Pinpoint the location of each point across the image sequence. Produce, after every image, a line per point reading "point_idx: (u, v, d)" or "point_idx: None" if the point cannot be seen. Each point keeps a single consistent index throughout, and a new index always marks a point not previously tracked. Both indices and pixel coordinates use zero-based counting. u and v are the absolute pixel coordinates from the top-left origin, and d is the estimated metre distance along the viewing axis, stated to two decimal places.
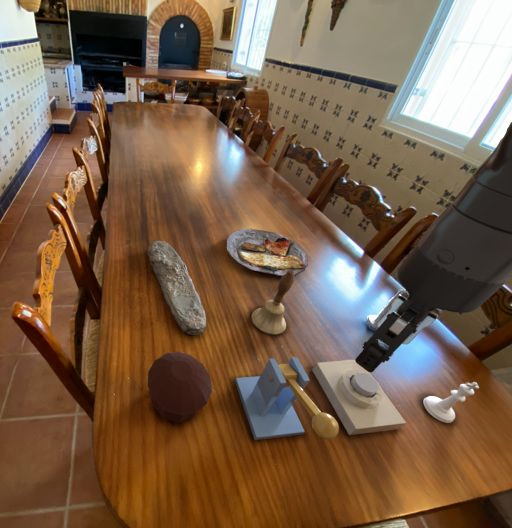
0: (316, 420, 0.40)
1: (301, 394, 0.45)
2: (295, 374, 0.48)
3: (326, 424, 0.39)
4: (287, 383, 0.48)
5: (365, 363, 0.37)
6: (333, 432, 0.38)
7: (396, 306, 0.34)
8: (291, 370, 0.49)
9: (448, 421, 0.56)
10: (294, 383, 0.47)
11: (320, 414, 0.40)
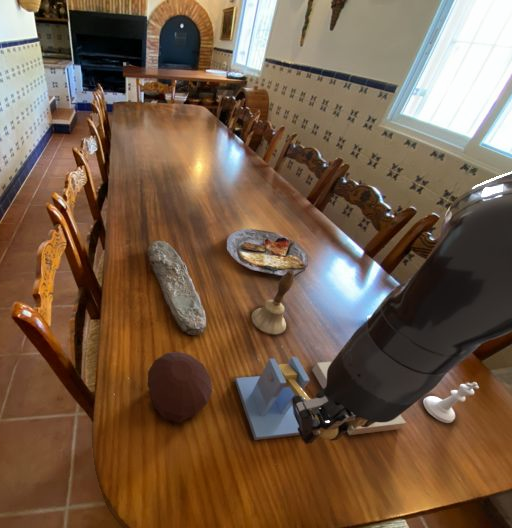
0: None
1: (301, 394, 0.45)
2: (295, 374, 0.48)
3: None
4: (287, 383, 0.48)
5: (302, 433, 0.41)
6: (333, 432, 0.38)
7: None
8: (291, 370, 0.49)
9: (448, 421, 0.56)
10: (294, 383, 0.47)
11: None
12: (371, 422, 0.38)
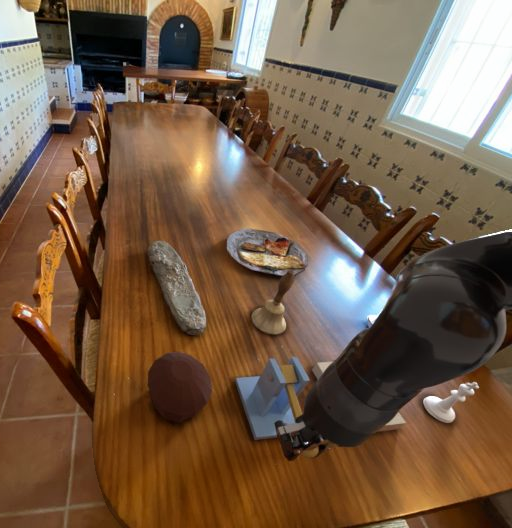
0: None
1: (295, 406, 0.46)
2: (295, 381, 0.48)
3: (308, 452, 0.43)
4: (284, 386, 0.49)
5: None
6: (312, 457, 0.43)
7: None
8: (293, 375, 0.48)
9: (448, 421, 0.56)
10: (291, 390, 0.48)
11: None
12: None
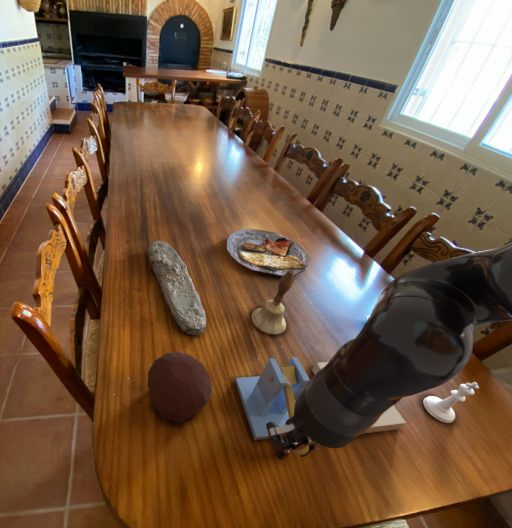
0: None
1: (291, 407, 0.47)
2: (295, 383, 0.48)
3: (299, 451, 0.45)
4: None
5: None
6: (301, 454, 0.45)
7: None
8: (293, 377, 0.48)
9: (448, 421, 0.56)
10: (289, 391, 0.48)
11: None
12: None
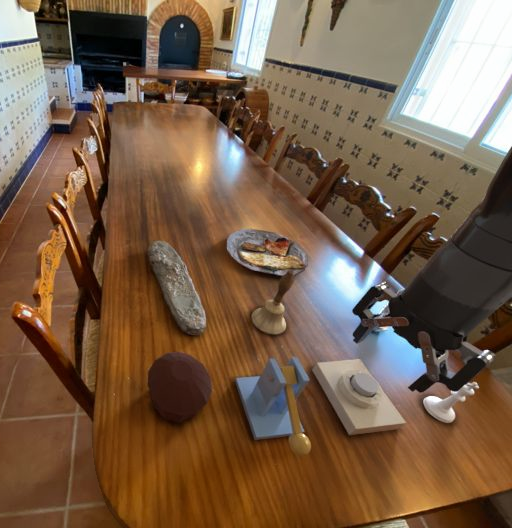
0: (294, 444, 0.45)
1: (292, 407, 0.47)
2: (295, 383, 0.48)
3: (301, 452, 0.44)
4: None
5: None
6: (303, 455, 0.45)
7: None
8: (293, 377, 0.48)
9: (448, 421, 0.56)
10: (290, 391, 0.48)
11: (300, 441, 0.45)
12: (456, 382, 0.35)
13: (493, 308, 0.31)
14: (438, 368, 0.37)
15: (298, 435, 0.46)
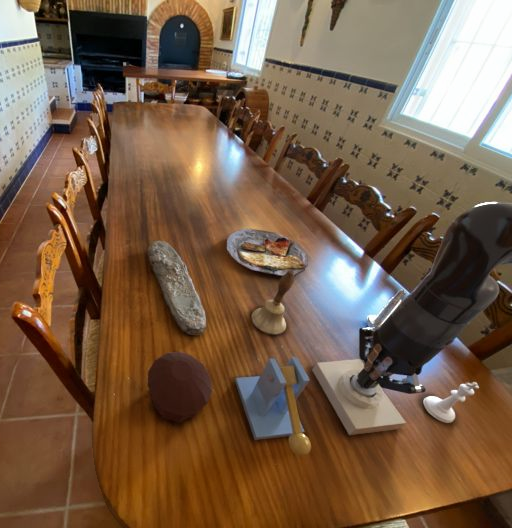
0: (294, 444, 0.45)
1: (292, 407, 0.47)
2: (295, 383, 0.48)
3: (301, 452, 0.44)
4: None
5: None
6: (303, 455, 0.45)
7: None
8: (293, 377, 0.48)
9: (448, 421, 0.56)
10: (290, 391, 0.48)
11: (300, 441, 0.45)
12: (386, 385, 0.49)
13: (433, 346, 0.42)
14: (376, 370, 0.51)
15: (298, 435, 0.46)
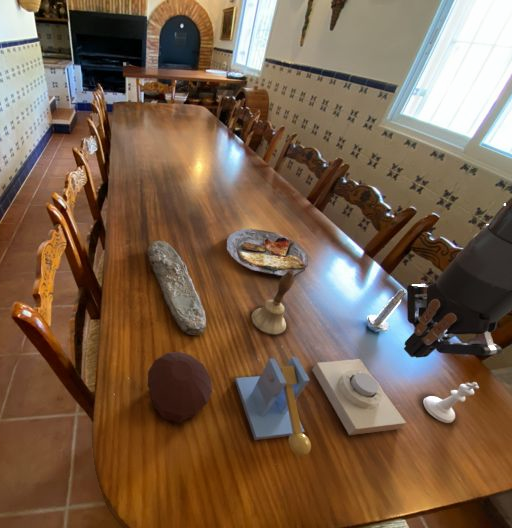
0: (294, 444, 0.45)
1: (292, 407, 0.47)
2: (295, 383, 0.48)
3: (301, 452, 0.44)
4: None
5: None
6: (303, 455, 0.45)
7: None
8: (293, 377, 0.48)
9: (448, 421, 0.56)
10: (290, 391, 0.48)
11: (300, 441, 0.45)
12: (446, 348, 0.41)
13: None
14: (432, 332, 0.43)
15: (298, 435, 0.46)
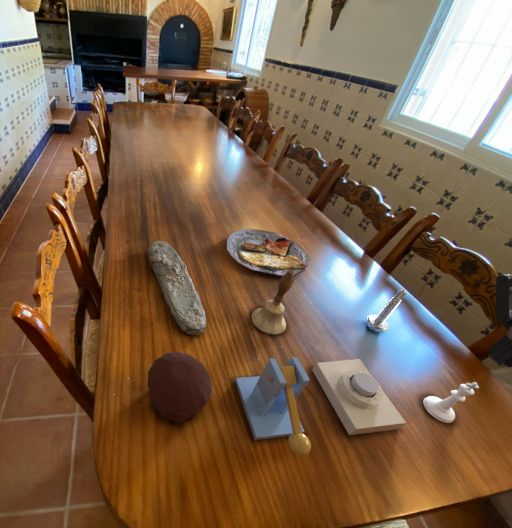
0: (294, 444, 0.45)
1: (292, 407, 0.47)
2: (295, 383, 0.48)
3: (301, 452, 0.44)
4: None
5: None
6: (303, 455, 0.45)
7: None
8: (293, 377, 0.48)
9: (448, 421, 0.56)
10: (290, 391, 0.48)
11: (300, 441, 0.45)
12: None
13: None
14: None
15: (298, 435, 0.46)
